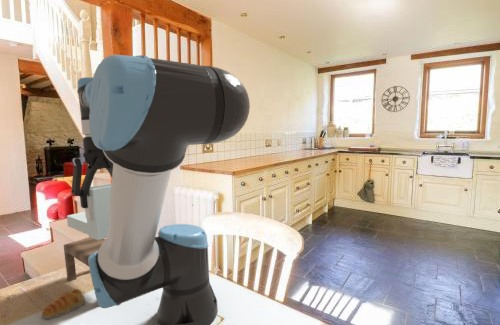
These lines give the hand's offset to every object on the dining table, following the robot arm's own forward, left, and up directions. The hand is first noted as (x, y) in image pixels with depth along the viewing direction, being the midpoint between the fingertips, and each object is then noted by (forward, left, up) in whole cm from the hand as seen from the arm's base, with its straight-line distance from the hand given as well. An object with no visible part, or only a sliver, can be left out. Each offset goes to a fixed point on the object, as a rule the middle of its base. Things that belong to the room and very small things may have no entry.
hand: (105, 214), depth 78 cm
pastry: (+4, +11, -25) cm, 27 cm away
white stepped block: (+8, 0, -6) cm, 10 cm away
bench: (+9, 0, -24) cm, 26 cm away
